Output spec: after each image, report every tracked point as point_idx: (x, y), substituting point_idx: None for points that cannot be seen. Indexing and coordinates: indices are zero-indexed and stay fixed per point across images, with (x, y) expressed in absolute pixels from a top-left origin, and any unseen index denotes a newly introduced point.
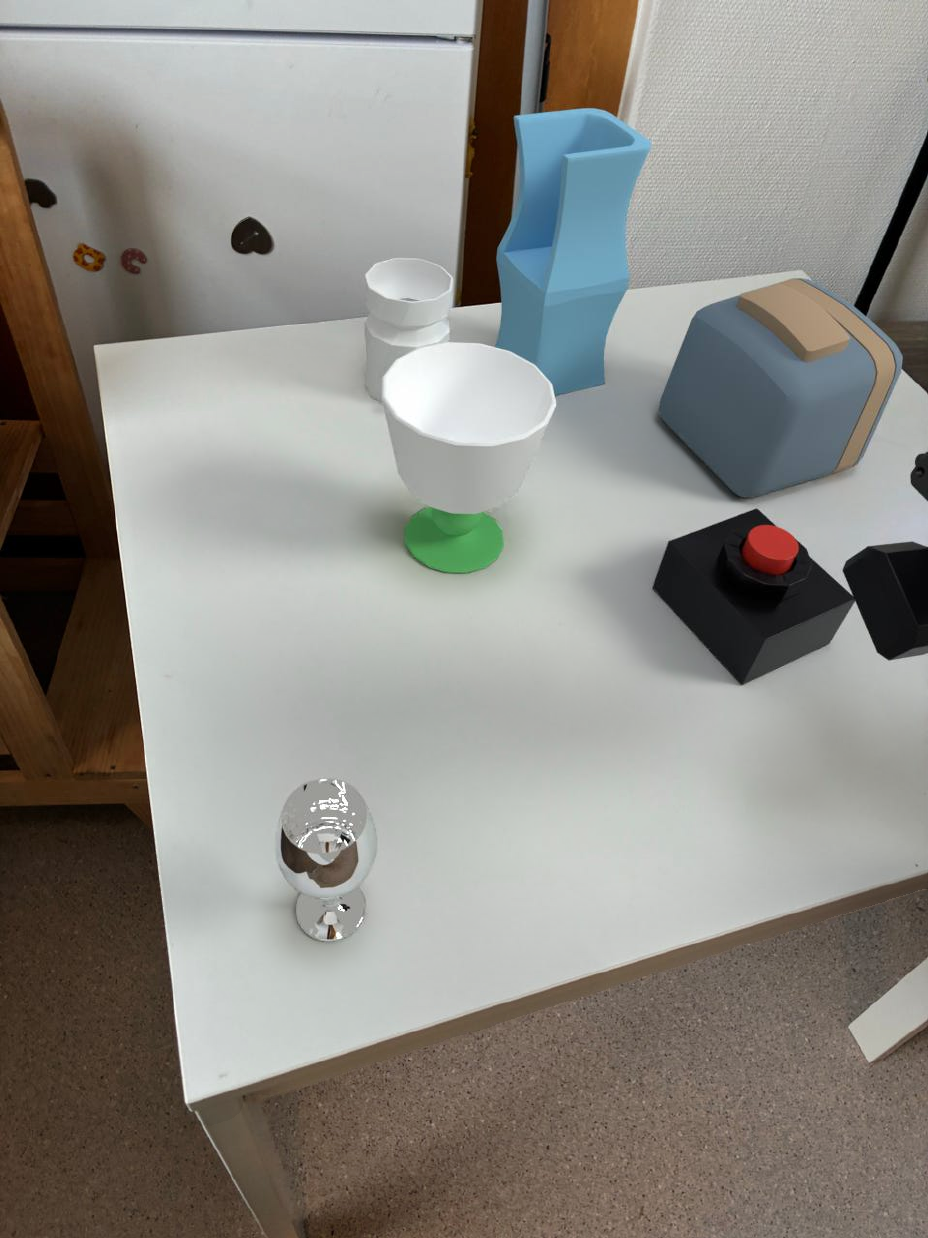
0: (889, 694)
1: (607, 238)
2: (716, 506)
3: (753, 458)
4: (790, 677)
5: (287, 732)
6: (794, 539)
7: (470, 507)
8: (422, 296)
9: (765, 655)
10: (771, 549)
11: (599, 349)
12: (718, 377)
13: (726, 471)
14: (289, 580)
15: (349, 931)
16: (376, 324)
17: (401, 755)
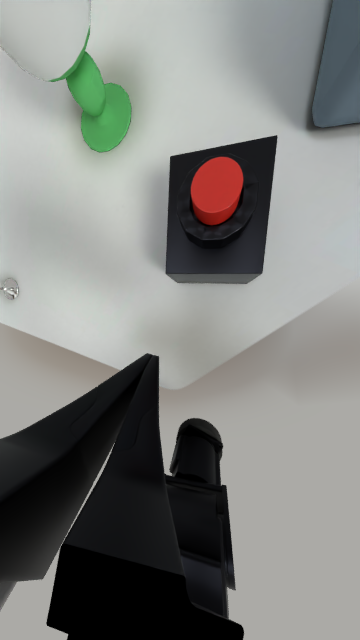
0: (247, 328)
1: None
2: (285, 132)
3: (354, 44)
4: (205, 291)
5: (15, 219)
6: (239, 189)
7: (27, 67)
8: None
9: (180, 278)
10: (205, 194)
11: None
12: None
13: (322, 77)
14: (33, 132)
15: (11, 298)
16: None
17: (41, 247)
